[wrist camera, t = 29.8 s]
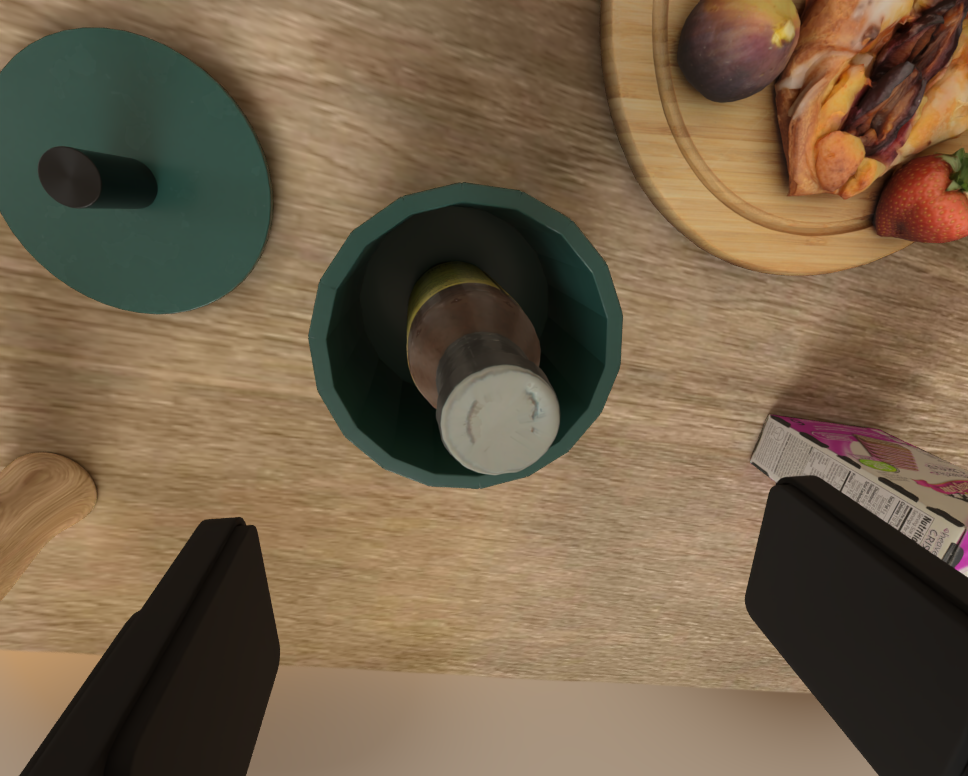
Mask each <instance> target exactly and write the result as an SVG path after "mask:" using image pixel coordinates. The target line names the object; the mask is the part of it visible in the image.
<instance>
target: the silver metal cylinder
mask: <svg viewBox="0 0 968 776" xmlns="http://www.w3.org/2000/svg"><path fill="white" fill-rule="evenodd" d="M96 500H97V491H96V487H95V484H94V482H93V480H92V478H91V476H90V475H89V474H88V473H87V471H86V470H85V469H83V468H82V467H81V466H80V465H79V464H77V463H76V462H74V461H72V460H71V459H69V458H66V457H64V456H61V455H58V454H54V453H47V452H36V453H30V454H26V455H23V456H20V457H18V458H16V459H15V460H13V461H12V462H11V463H10V464H8V465H7V466H6V467H5V468H4V469H3V470H2V471H1V472H0V602H1V600H2V599H3V598H4V597H5V596H6V595H7V594H8V592H9V591H10V590H11V589H12V587H13V586H14V585H15V583H16V582H17V581H18V580H19V578H20V577H21V576H22V574H23V573H24V572H25V570H26V569H27V568H28V566H29V565H30V564H31V562H32V561H33V560H34V558H35V557H36V556H37V555H38V553H39V552H40V551H41V550H42V548H43V547H44V546H45V545H46V544H47V543H48V542H49V541H50V540H51V539H52V538H54V537H55V536H56V535H57V534H59V533H60V532H62V531H64V530H66V529H67V528H69V527H71V526H73V525H74V524H76V523H78V522H79V521H81V520H82V519H84V518H85V517H86V516H87V515H88V514H89V513H90V512H91V511H92V509H93V508H94V506H95V504H96Z"/></svg>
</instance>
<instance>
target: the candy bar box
mask: <svg viewBox="0 0 968 776" xmlns="http://www.w3.org/2000/svg"><path fill="white" fill-rule="evenodd" d="M750 463H751V464H752V465H754V466H755V467H756V468H758V469H759V470H761V471H762V472H763V473H764V474H766V475H767V476H768V477H769V478H771V479H772V480H773V481H775V482H776V483H777V482H778V481H779V479H781V478H783V477H792V476H805V475H815V476H817V477H820V478H821V479H823V480H824V481H826V482H827V483H829V484H830V485H832V486H833V487H835V488H836V489H838V490H839V491H841V492H842V493H844V494H845V495H847V496H848V497H850V498H851V499H853V500H854V501H856V502H857V503H859V504H860V505H861V506H863V507H864V508H866V509H867V510H869V511H870V512H872V513H873V514H875V515H876V516H878V517H879V518H881V519H882V520H884V521H885V522H887V523H888V524H890V525H891V526H893V527H894V528H896V529H897V530H899V531H900V532H901V533H903V534H904V535H906V536H907V537H909V538H910V539H912V540H913V541H915V542H916V543H918V544H919V545H921V546H922V547H924V548H925V549H927V550H928V551H930V552H931V553H933V554H934V555H936V556H937V557H939V558H940V559H941V560H943V561H944V562H946V563H947V564H949V565H950V566H952V567H953V568H955V569H956V570H958V571H959V572H961V573H962V574H964V575H965V576H967V577H968V471H967V470H965V469H962V468H960V467H958V466H956V465H954V464H952V463H950V462H947V461H945V460H943V459H941V458H939V457H937V456H935V455H932V454H930V453H928V452H926V451H924V450H922V449H920V448H918V447H915V446H913V445H911V444H909V443H907V442H904V441H902V440H900V439H898V438H896V437H894V436H892V435H890V434H888V433H886V432H884V431H882V430H880V429H873V428H865V427H858V426H849V425H842V424H834V423H828V422H820V421H813V420H806V419H799V418H792V417H784V416H778V415H771V414H770V415H768V417H767V419H766V421H765V423H764V426H763V429H762V432H761V435H760V438H759V440H758V443H757V445H756V447H755V450H754V452H753V455H752V457H751V460H750Z"/></svg>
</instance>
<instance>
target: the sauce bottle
mask: <svg viewBox="0 0 968 776" xmlns="http://www.w3.org/2000/svg"><path fill="white" fill-rule="evenodd" d="M406 347H407V360H408V366H409V370H410V373H411V376H412V378H413V381H414V383H415V385H416V386H417V388H418V390H419V391H420V392H421V394H422V395H423V396H424V398H426V399H427V401H428V402H429V403H430V404H431V405H432V406H433V407H434V408H435V409H437V410H436V419H437V422H438V426H439V430H440V435H441V440H442V442H443V444H444V446H445V447H446V449H447V450H448V452H449V453H450V454H451V455H452V456H453V457H454V458H455V459H456V460H457V461H458V462H460V463H461V464H462V465H463V466H464V467H466V468H467V469H470V470H473V471H475V472H478V473H482V474H488V475H499V474H504V473H516V472H518V471H521V470H523V469H525V468H527V467H528V466H530V465H532V464H533V463H535V462H536V461H537V460H538V459H539V458H540V457H541V456H543V455H544V454H545V453H546V452H547V451H548V449H549V447H550V446H551V444H552V443H553V441H554V440H555V438H556V435H557V433H558V429H559V425H560V407H559V402H558V399H557V396H556V393H555V391H554V389H553V387H552V386H551V384H550V382H549V381H548V378H547V376H546V375H545V373H544V372H543V371H542V370H541V369H540V368H539V363H540V352H541V349H540V342H539V339H538V337H537V334H536V332H535V329H534V327H533V325H532V323H531V321H530V320H529V318H528V317H527V315H526V314H525V313H524V311H523V310H522V309H521V307H520V306H519V304H518V303H517V302H516V301H515V300H514V299H513V298H512V297H511V296H510V295H509V294H508V293H507V292H506V291H505V290H504V289H503V288H502V287H501V286H500V285H499V284H498V283H497V282H496V281H494V280H493V279H492V278H491V277H490V276H489V275H488V274H487V273H486V272H485V271H482V270H480V269H479V268H478V267H477V266H475V265H472V264H470V263H465V262H459V261H450V262H441V263H438V264H435V265H433V266H432V267H431V268H430V269H429V270H427V271H426V272H425V273H424V274H423V275H422V276H421V277H420V278H419V279H418V280H417V282H416V283H415V285H414V287H413V290H412V292H411V295H410V298H409V302H408V313H407V346H406Z"/></svg>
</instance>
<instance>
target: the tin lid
mask: <svg viewBox="0 0 968 776" xmlns="http://www.w3.org/2000/svg"><path fill="white" fill-rule="evenodd" d="M0 212H1V214H2V216H3V217H4V219H5V221H6V222H7V224H8V226H9V227H10V229H11V230H12V232H13V233H14V235H15V236H16V237H17V238H18V240H19V241H20V242H21V244H22V245H23V246H24V247H25V249H26V250H27V251H28V252H29V253H30V254H31V255H32V256H33V257H34V258H35V259H36V260H37V261H38V262H39V263H40V264H41V265H42V266H43V267H45V268H46V269H47V270H48V271H49V272H50V273H52V274H53V275H54V276H55V277H57V278H58V279H60V280H61V281H62V282H64V283H65V284H67V285H68V286H70V287H71V288H73V289H75V290H77V291H78V292H80V293H82V294H84V295H86V296H87V297H90V298H92V299H94V300H97V301H99V302H101V303H104V304H106V305H110V306H113V307H116V308H119V309H122V310H128V311H133V312H138V313H148V314H173V313H179V312H185V311H190V310H194V309H197V308H200V307H203V306H206V305H208V304H210V303H212V302H214V301H216V300H219V299H221V298H222V297H224V296H225V295H227V294H228V293H230V292H231V291H233V290H234V289H235V288H236V287H237V286H238V285H240V284H241V283H242V282H243V281H244V280H245V279H246V278H247V276H248V275H249V274H250V273H251V271H252V270H253V269H254V268H255V266H256V264H257V262H258V261H259V259H260V257H261V255H262V253H263V251H264V248H265V246H266V243H267V241H268V237H269V233H270V229H271V225H272V215H273V190H272V184H271V177H270V172H269V168H268V165H267V161H266V158H265V154H264V152H263V149H262V147H261V145H260V142H259V140H258V137H257V135H256V133H255V132H254V130H253V128H252V126H251V124H250V123H249V121H248V119H247V117H246V116H245V115H244V113H243V112H242V110H241V109H240V108H239V106H238V105H237V103H236V102H235V101H234V100H233V98H232V97H231V96H230V95H229V94H228V93H227V92H226V90H225V89H224V88H223V87H222V86H221V85H220V84H219V83H218V82H217V81H216V80H215V79H213V78H212V77H211V76H210V75H209V74H208V73H207V72H206V71H205V70H203V69H202V68H200V67H199V66H198V65H196V64H195V63H194V62H192V61H191V60H190V59H188V58H187V57H185V56H183V55H182V54H180V53H178V52H176V51H175V50H173V49H171V48H169V47H168V46H166V45H164V44H161V43H159V42H157V41H154V40H152V39H150V38H147V37H145V36H141V35H138V34H134V33H131V32H127V31H123V30H116V29H110V28H77V29H70V30H64V31H61V32H58V33H54V34H51V35H48V36H45V37H43V38H41V39H39V40H37V41H35V42H34V43H32V44H30V45H28V46H27V47H26V48H24V49H23V50H22V51H20V52H19V53H18V54H16V55H15V56H14V57H13V58H12V59H11V61H10V62H9V63H8V64H7V65H6V66H5V67H4V68H3V69H2V71H1V73H0Z"/></svg>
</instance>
